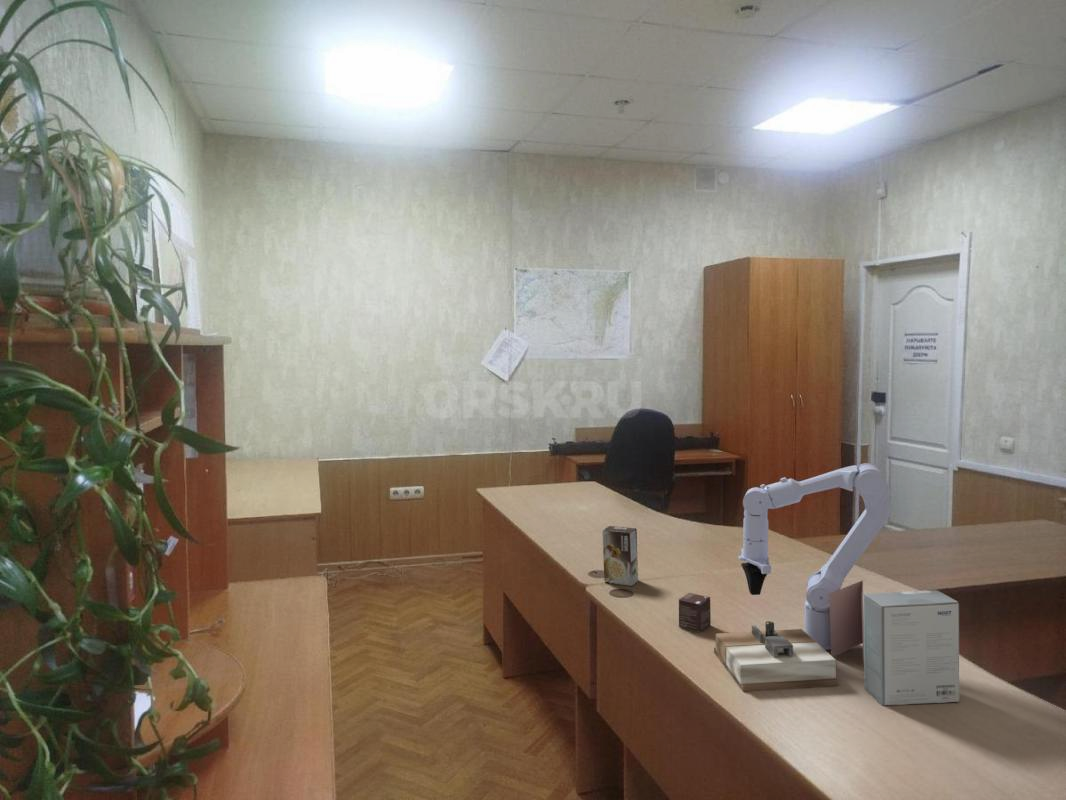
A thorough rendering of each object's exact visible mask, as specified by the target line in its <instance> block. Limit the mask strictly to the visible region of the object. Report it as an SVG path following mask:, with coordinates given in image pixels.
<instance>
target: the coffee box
mask: <svg viewBox="0 0 1066 800" xmlns="http://www.w3.org/2000/svg"><path fill="white" fill-rule="evenodd" d="M637 529H638V528H635V527H625V526H613V525H609V526H607V527H606V528H604V529H603V530H602V552H603V553H602V554H603V582H604V581H605V582H609V583H608V584H613V583H614V584H615V585H622V586H630V587H632V586H634V585H635V584H636V583H637V582H639V571H638V570H639V569H638V566H639V565H638V562H639V561H638V540H637V539H638V536H637V535H638V532H637ZM605 582H604V583H605Z"/></svg>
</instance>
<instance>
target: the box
mask: <svg viewBox="0 0 1066 800" xmlns="http://www.w3.org/2000/svg"><path fill="white" fill-rule="evenodd" d="M711 615H712V614H711V597H710V596H707V595H701V594H697V593H692V592H688V593H687V594H685V595H684V596H682V597H680V598H679V599H678V627H679V628H680V629H685V630H688V631H689V630H690V631H693V632H697V633H701V632H703V631H705V630H706V629H707V628H708V627H710V626H711V623H712V622H711Z"/></svg>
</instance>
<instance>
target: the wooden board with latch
mask: <svg viewBox="0 0 1066 800" xmlns="http://www.w3.org/2000/svg"><path fill="white" fill-rule="evenodd" d="M765 635H766V630H760V629H759V628H758V626H756V625H751V631H738V632H719V633H715V647H713V653H714V654H715V656H716V657H717V658H718V660H719V661H720V663H721V664H722V665H723V666H724V668H725V669H726V670H727V672H728V674H729V675H730V676H731V677H732V679H733V680H734V681H735V682H736V685H738V687H739V688H740V690H741V691H742V692H748V691H749V692H750V691H751V692H752V691H769V690H782V689H783V690H784V689H785V690H786V689H803V688H820V687H822V688H823V687H838V686H839V680H838V679H837V675H836V674H837V673H836V672H837V671H836V670H837V669H836V666H837V665H836V664H837V663H836V661H837V660H836V658H835V657H832V656H831V653H829V652H828V651H827V650H824V649H823V648H822V647H821V646H820V645H819V644H818V643H817V642H815V641H814V640H813V639H812V638H811V637H810V636H809V635H808V634H807V633H805V630H803V629H802V628H795V629H794V628H793V629H792V628H791V629H777V630H775V629H774V636H769V637H765ZM778 649H784V653H778Z"/></svg>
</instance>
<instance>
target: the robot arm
mask: <svg viewBox="0 0 1066 800" xmlns="http://www.w3.org/2000/svg"><path fill="white" fill-rule="evenodd" d="M854 487H855V489H856V491H857V492H858V494H859V495H860V497H862V500H863V503H864V510H863V511H862V513H861V514H860V516H859V518H858V519H857V520H856V522H855V523H854V525H852V526H851V528H850V530H849V531H848V533H847V534H846V536H845V537H844V538H843V540H842V541H841V543H840V544H839V545H838V547H837V548H836V549H835V551H834V552H833V554H832V555H831V556H830V558H829V559H828V561H827V562H826V563H824V565H822V566H821V568H820V569H819V570H818V571H817V572H815V573H813V574H810V576H809V577H808V578H807V580H806V590H807V591H806V596H805V597H806V600H805V601H804V632H805V633H807V634H808V635H809V636H810V637H811V638H812V639H813V640H814V641H815V642H817V643H818V644H819V645H820V646H821V647H822V648H823V649H824V650H825V651H827V650H828V651H831V633H830V601H829V593H832V592H835V591H837V590H840V589H842V587H843V583H844V581H845V578H846V577H847V576H848V574H849V573H850V572H851V570H852V569H853V567H854V566H855V565H856V563H857V562H858V560H860V558H861V556H863V554H864V552H865V551H866V550H867V548H868V547H869V545H870V544H871V543H872V541H873V540H874V538H875V537H876V536H877V534H878V533H879V532H880V530H881V529H882V527H883V526H884V524H885V523H886V522H887V521H888V519H889V517H890V515H891V499H890V497H891V495H890V492H891V489H890V486H889V484H888V481H887V479H886V477H885V475H884V473H883V471H882V469H881V468H880V467H879V466H877V465H876V464H874V463H872V462H871V463H870V462H864V463H861V464H859V465H856V464H855V465H850V466H845V467H842V468H837V469H835V470H832V471H829V472H826V473H821V474H819V475H817V476H813V477H810V478H808V479H807V478H806V479H804V480H801V481H797V480H795V479H794V478H787V477H785V476H784V477H781V478H780V479H779V481H777V482H774V483H771V484H767V485H766V484H765V483H763V484H760V486H759V487H757V486H756V487H752V488H750V489H748V490H747V491H746V493H745V495H744V497H743V499H742V506H743V510H744V511H743V516H744V517H743V526H742V527H743V528H742V530H743V531H742V532H743V533H742V534H743V535H742V538H743V539H742V541H743V544H742V547H740V555H738V556H737V559H738V560H739V561H742V563H741V565H740V566H741V568H742V570H743V572H744V574H745V578H746V582H747V587H748V591H749V594H750V595H752V596H760V595H761V593H762V589H763V586H764V585H763V584H764V582H765V580H766V577H767V576H768V575H769V574H770V575H771V574H772V565H771V563H770V557H769V519H768V510H769V509H771V510H775V509H780V508H782V507H785V506H786V507H787V506H790V505H793V504H796V503H800V502H801V500H802V499H803V497H804V496H806V495H809V494H811V495H812V494H815V493H818V492H823V491H827V490H831V489H836V488H841V489H843V490H846V491H850V492H854Z"/></svg>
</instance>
